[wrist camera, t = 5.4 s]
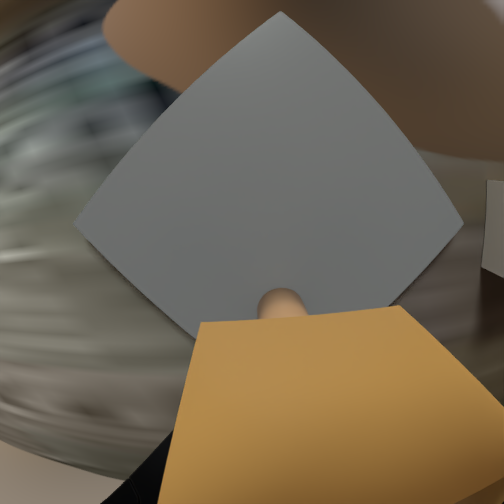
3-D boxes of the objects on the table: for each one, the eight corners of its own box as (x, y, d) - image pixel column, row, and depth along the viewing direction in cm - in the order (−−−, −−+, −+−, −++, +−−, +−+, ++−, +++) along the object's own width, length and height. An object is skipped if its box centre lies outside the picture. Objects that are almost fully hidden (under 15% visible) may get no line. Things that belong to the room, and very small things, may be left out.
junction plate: (274, 388, 17) (282, 446, 13) (83, 220, 15) (31, 239, 10) (451, 219, 15) (507, 237, 11) (278, 21, 12) (290, -29, 8)
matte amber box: (373, 438, 9) (429, 570, 4) (222, 455, 9) (216, 608, 3) (399, 305, 8) (542, 451, 2) (201, 322, 8) (149, 544, 2)
